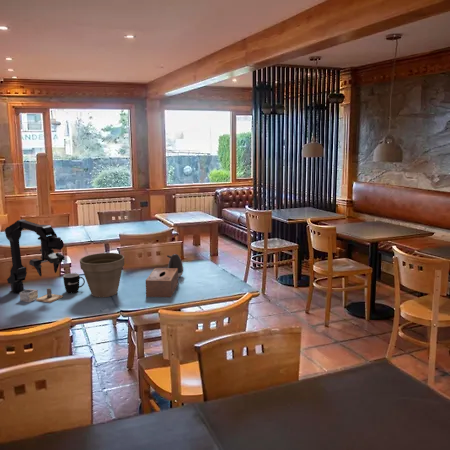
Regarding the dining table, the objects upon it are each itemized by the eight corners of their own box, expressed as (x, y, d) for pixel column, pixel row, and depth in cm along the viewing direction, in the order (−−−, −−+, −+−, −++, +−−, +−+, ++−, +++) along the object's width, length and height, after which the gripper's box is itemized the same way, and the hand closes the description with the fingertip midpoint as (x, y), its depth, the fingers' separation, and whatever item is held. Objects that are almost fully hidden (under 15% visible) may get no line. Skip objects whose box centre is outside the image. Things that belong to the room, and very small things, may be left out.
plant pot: (85, 303, 267) (83, 265, 263) (78, 290, 289) (76, 255, 285) (130, 296, 277) (128, 260, 274) (120, 285, 299) (118, 250, 295)
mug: (65, 295, 281) (64, 278, 280) (63, 290, 289) (62, 274, 287) (86, 291, 287) (85, 275, 285) (83, 287, 295) (82, 271, 293)
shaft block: (36, 300, 272) (35, 290, 271) (48, 295, 281) (47, 285, 280) (50, 302, 269) (50, 292, 268) (62, 297, 278) (62, 287, 277)
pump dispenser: (168, 274, 322) (168, 252, 319) (184, 274, 321) (183, 252, 318) (166, 278, 311) (165, 255, 309) (182, 279, 311) (181, 256, 308)
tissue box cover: (155, 283, 303) (154, 268, 301) (178, 283, 302) (177, 268, 300) (146, 297, 278) (145, 280, 276) (171, 297, 277) (170, 280, 275)
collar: (20, 300, 272) (19, 292, 271) (28, 297, 278) (28, 288, 277) (29, 302, 270) (29, 293, 269) (38, 298, 276) (37, 290, 275)
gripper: (38, 253, 260) (40, 281, 263) (69, 247, 274) (70, 273, 277) (27, 249, 267) (29, 277, 270) (58, 244, 281) (59, 270, 284)
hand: (48, 274), depth 275 cm, fingers open, 9 cm apart
